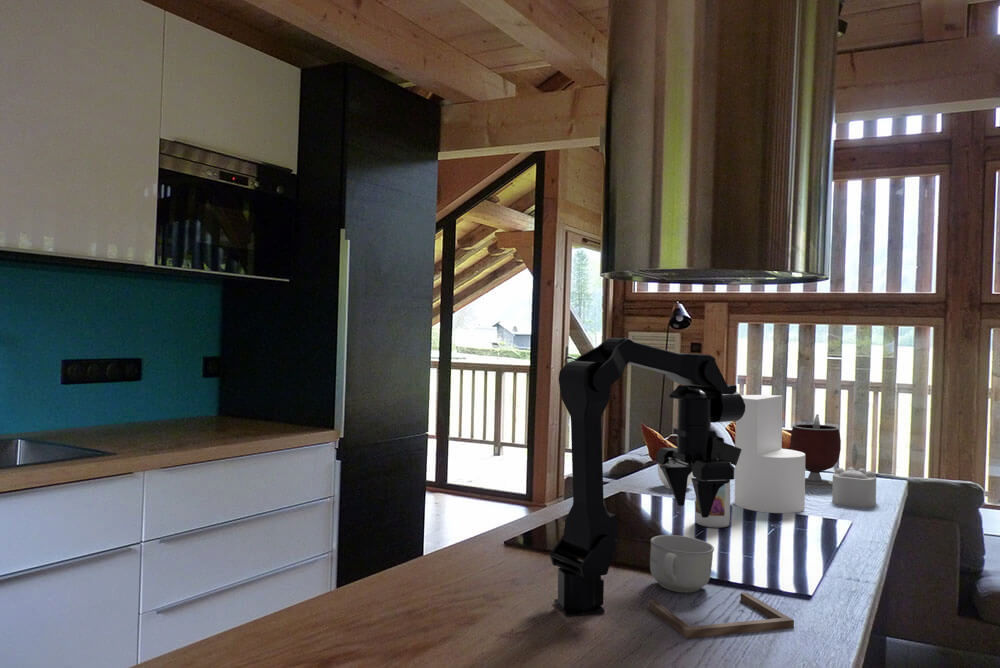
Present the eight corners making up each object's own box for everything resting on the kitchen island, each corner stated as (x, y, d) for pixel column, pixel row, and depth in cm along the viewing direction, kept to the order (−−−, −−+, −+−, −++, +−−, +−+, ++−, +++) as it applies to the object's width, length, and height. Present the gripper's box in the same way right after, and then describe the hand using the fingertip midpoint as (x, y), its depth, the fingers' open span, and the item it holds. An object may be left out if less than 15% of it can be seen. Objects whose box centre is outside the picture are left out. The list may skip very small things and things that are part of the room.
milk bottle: (706, 518, 187) (707, 435, 187) (736, 524, 182) (737, 438, 182) (689, 524, 182) (690, 438, 182) (718, 530, 177) (720, 441, 176)
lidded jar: (699, 491, 219) (699, 458, 219) (660, 491, 219) (661, 457, 219) (690, 484, 230) (690, 452, 230) (653, 483, 230) (654, 451, 230)
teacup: (667, 573, 144) (668, 530, 144) (723, 586, 138) (724, 541, 138) (629, 592, 134) (630, 546, 134) (688, 607, 127) (688, 558, 127)
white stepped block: (723, 505, 202) (724, 397, 202) (749, 495, 215) (751, 393, 215) (790, 516, 191) (792, 401, 191) (814, 504, 204) (815, 397, 204)
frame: (686, 638, 114) (686, 630, 114) (648, 608, 126) (648, 600, 126) (793, 627, 119) (794, 620, 119) (746, 599, 131) (747, 592, 131)
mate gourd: (839, 490, 223) (840, 420, 223) (787, 485, 229) (788, 417, 229) (841, 481, 237) (842, 415, 237) (792, 477, 243) (793, 412, 243)
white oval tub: (829, 503, 206) (830, 470, 206) (837, 495, 217) (837, 463, 217) (873, 508, 201) (873, 475, 201) (878, 499, 212) (878, 467, 212)
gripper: (763, 430, 132) (761, 522, 132) (709, 417, 150) (708, 499, 150) (703, 430, 130) (701, 524, 130) (656, 418, 148) (654, 500, 148)
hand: (692, 511), depth 140 cm, fingers open, 9 cm apart
